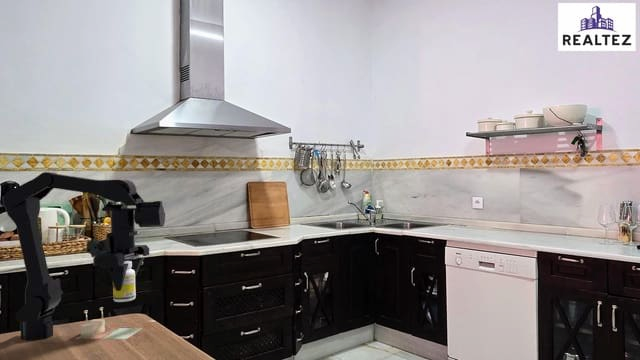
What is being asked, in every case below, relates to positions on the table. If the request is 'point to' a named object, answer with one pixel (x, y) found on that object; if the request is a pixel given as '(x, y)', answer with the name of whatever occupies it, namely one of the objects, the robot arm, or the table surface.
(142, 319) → the table surface
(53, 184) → the robot arm
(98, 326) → the beech block
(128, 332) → the sorting board
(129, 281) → the supplement bottle
